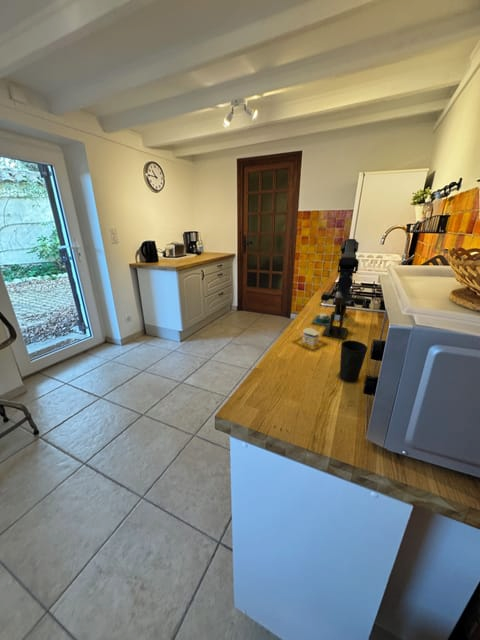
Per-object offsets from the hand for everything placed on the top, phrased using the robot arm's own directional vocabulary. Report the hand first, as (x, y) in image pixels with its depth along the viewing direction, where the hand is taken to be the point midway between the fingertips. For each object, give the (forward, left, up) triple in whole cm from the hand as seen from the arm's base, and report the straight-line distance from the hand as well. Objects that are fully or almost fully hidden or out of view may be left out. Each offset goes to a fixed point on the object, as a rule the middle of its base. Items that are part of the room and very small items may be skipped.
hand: (340, 315), depth 123 cm
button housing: (-2, -8, -6) cm, 10 cm away
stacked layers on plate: (+24, -8, -6) cm, 26 cm away
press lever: (+5, 0, -1) cm, 5 cm away
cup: (+43, +10, -6) cm, 45 cm away
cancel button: (-2, -8, -3) cm, 9 cm away
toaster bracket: (+9, 0, -6) cm, 11 cm away
